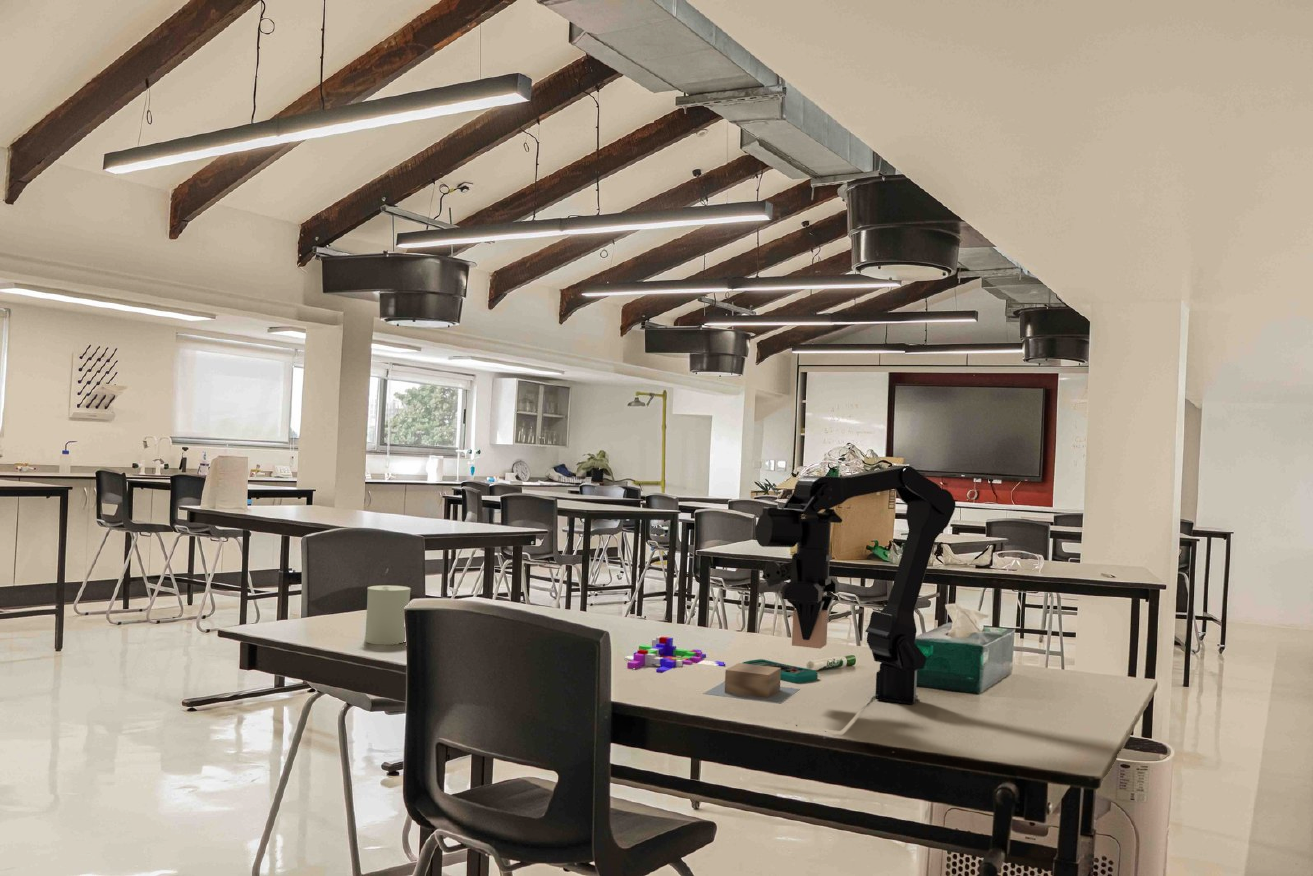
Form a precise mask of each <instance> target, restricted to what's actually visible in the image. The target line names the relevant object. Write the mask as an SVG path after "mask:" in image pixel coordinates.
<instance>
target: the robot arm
mask: <svg viewBox="0 0 1313 876" xmlns="http://www.w3.org/2000/svg"><path fill="white" fill-rule="evenodd" d="M890 490H891V491H892V490H894V491H895V493H896V495H897V497H898V498H899V500H901V501H902V502H903V503H904V504H905V505H906V510H905V511H906V512H905V517H906V522H907V527H908V533H907V537H906V540H905V544H904V546H903V549H902V552H901V553H902V554H901V557H900V559H899V563H898V566H897V570H896V574H895V575H894V576H895V577H894V580H893V583H892V587H891V590H890V592H889V597H888V601H887V603H886V605H885V606H884V608H883V609H882V610H881V611H876V610H873V611H871V614H870V618H869V623H868V625H867V628H866V629H865V633H867V635H866V644H868V647H869V650H871V652H872V653H871V654H872V657H873V661H874V662H876V663H880V664H879V670H878V671H876V675H875V695H876V700H878V701H883V702H884V701H885V702H890V703H899V704H908V705H914V704H915V702H916V701H917V700H918V697H919V695H917V683H918V681H917V680H918V670H923V669H924V668H925V665H926V662H927V656H926V655H925V654H924V653H923V652H922V650H921V649H920V648H919V647H918V645H917V644H916V637H917V630H918V629H917V625H916V621H915V616H914V615H915V610H916V606H917V602H918V600H919V596H920V592H921V589H922V585H923V582H924V578H925V575H926V572H927V568H928V565H929V562H930V559H931V555H932V552H933V548H934V545H935V542H936V539H937V538H938V537H939V536H940V534H941V533H943V531H944V530H945V529H947V527H948V526H949V523H950V521H951V520H952V517H953V515H954V513H955V510H956V506H957V505H956V500H955V499H954V495H952V493H951V492H950V491H949V490H948V489H946V488H945V489H944V488H941V486H940V485H939V484H938V483H936V482H935V481H932V480H930V479H929V478H927V477H926V476H924V475H922V474H921V473H920V472H919V471H918V470H917V469H915V468H914V467H912V466H911V465H897V464H896V465H892V466H890V467H885V468H880V469H875V470H874V469H873V470H869V471H864V472H859V473H858V472H857V473H854V474H847V475H842V476H827V475H826V476H825V475H804V476H802V477H800V478H798V479H797V482H796V483H795V485H794V489H793V492H792V493H791V494H790V496H789V497H788V498H787V500H786V501H785V503H784V504H783V505H782V507H781V508H777V507H771V506H764V507H763V508H762V514H760V516H758V519H757V521H756V522H757V523H756V525H755V527H754V530H755V531H754V533H755V538H756V539H755V540H756V542H757V544H758V545H759V546H760V547H763V548H794V547H796V552H794V553H793V554H792V556H791V561H788V562H785V563H782V564H780V563H779V562H778V561H777V560H773V561H772V560H771V561H769V562H765V567H764V569H762V579H763V580H765V583H766V586H767V588H770V587H774V586H776V585H780V584H782V583H783V582H786V581H789V582H787V583H786V584H785V585H784V586H782V587H781V599H782V600H786V601H787V602H788V603H789V604H791V606H793V608H795V610H797V614H798V619H799V623H800V628H801V633H802V638H803V640H809V639H810V637H811V635H812V632H813V630H814V627H815V624H816V622H817V619H818V617H819V614H820V612H821V610H828V611H829V609H830V607H831V605H832V602H833V601H834V599H835V595H827V594H828V593H827V592H830V593H832V594H839V592H840V582H839V580H838V579H837V578H836V577H835V576H830V575H829V574H830V561H832V560H833V554H832V553H831V534H832V532H831V531H832V530H831V529H832V523H834V524H835V523H839V524H841V523H843V519H842V518H841V516H839V515H838V513H836V511H835V509H834V508H835V507H837V506H839V505H841V504H844V503H845V502H846V501H848V500H849V499H852V498H854V497H859V496H865V495H869V494H870V495H871V494H874V493H875V494H877V493H882V492H885V491H890ZM823 510H824V511H823ZM820 511H821V512H820ZM822 511H823V512H822ZM803 515H804V517H802V516H803Z"/></svg>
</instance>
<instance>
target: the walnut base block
mask: <svg viewBox="0 0 1313 876" xmlns="http://www.w3.org/2000/svg"><path fill="white" fill-rule="evenodd" d="M724 676H725V677H724V682H725V693H732V694H740V695H748V696H756V697H764V698H769V697H770V696H772V695H773V694H775V693H776V692H778V691H779V690H780V687H781V680H780V678H781V668H778V667H769V666H761V665H752V664H743V662H738V663H736V664H734V665H732V666H730V667H728V668H726V669H725V673H724Z"/></svg>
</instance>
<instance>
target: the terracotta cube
mask: <svg viewBox="0 0 1313 876" xmlns="http://www.w3.org/2000/svg"><path fill="white" fill-rule="evenodd" d="M828 616H829V609H828V610H821V612H820V614H819V617H818V619H817V622H816V624H815V627H814V630H813V632H812V635H811V637H810V639H809V640H803V638H802V633H801V628H800V623H799V619H798V614H797V610H796V609H793V610H792V633H791V646H792V647H793V646H794V647H803V648H809V649H811V648H812V649H822V648H823V647H826V646H827V644H828V643H827V640H828V639H827V637H828V620H829V619H828Z"/></svg>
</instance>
